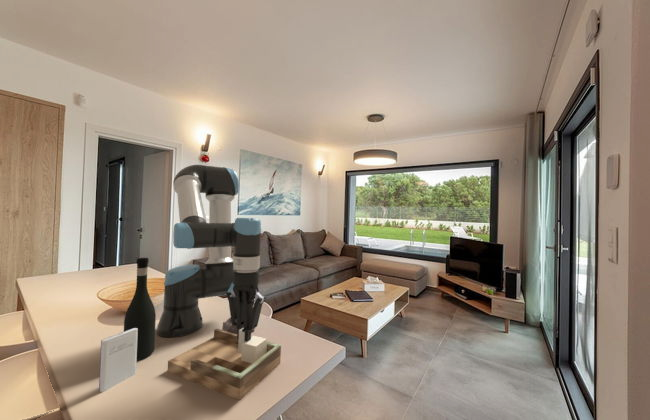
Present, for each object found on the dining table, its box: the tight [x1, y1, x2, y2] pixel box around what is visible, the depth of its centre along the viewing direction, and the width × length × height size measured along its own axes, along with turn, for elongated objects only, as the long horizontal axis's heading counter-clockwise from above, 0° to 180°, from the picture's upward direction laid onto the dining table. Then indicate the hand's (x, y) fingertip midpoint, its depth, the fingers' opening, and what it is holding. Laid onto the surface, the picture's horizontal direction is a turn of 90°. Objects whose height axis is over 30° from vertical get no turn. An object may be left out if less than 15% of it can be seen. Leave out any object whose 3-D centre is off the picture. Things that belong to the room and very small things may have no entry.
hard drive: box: [98, 328, 138, 393], centre depth 68 cm, size 2×8×12 cm, turn 159°
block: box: [241, 335, 268, 364], centre depth 75 cm, size 5×5×5 cm
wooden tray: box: [167, 328, 282, 401], centre depth 75 cm, size 26×17×6 cm, turn 66°
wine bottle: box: [123, 257, 157, 361], centre depth 81 cm, size 8×8×30 cm
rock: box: [221, 316, 256, 334], centre depth 98 cm, size 8×11×5 cm
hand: (243, 351), depth 76 cm, fingers closed
